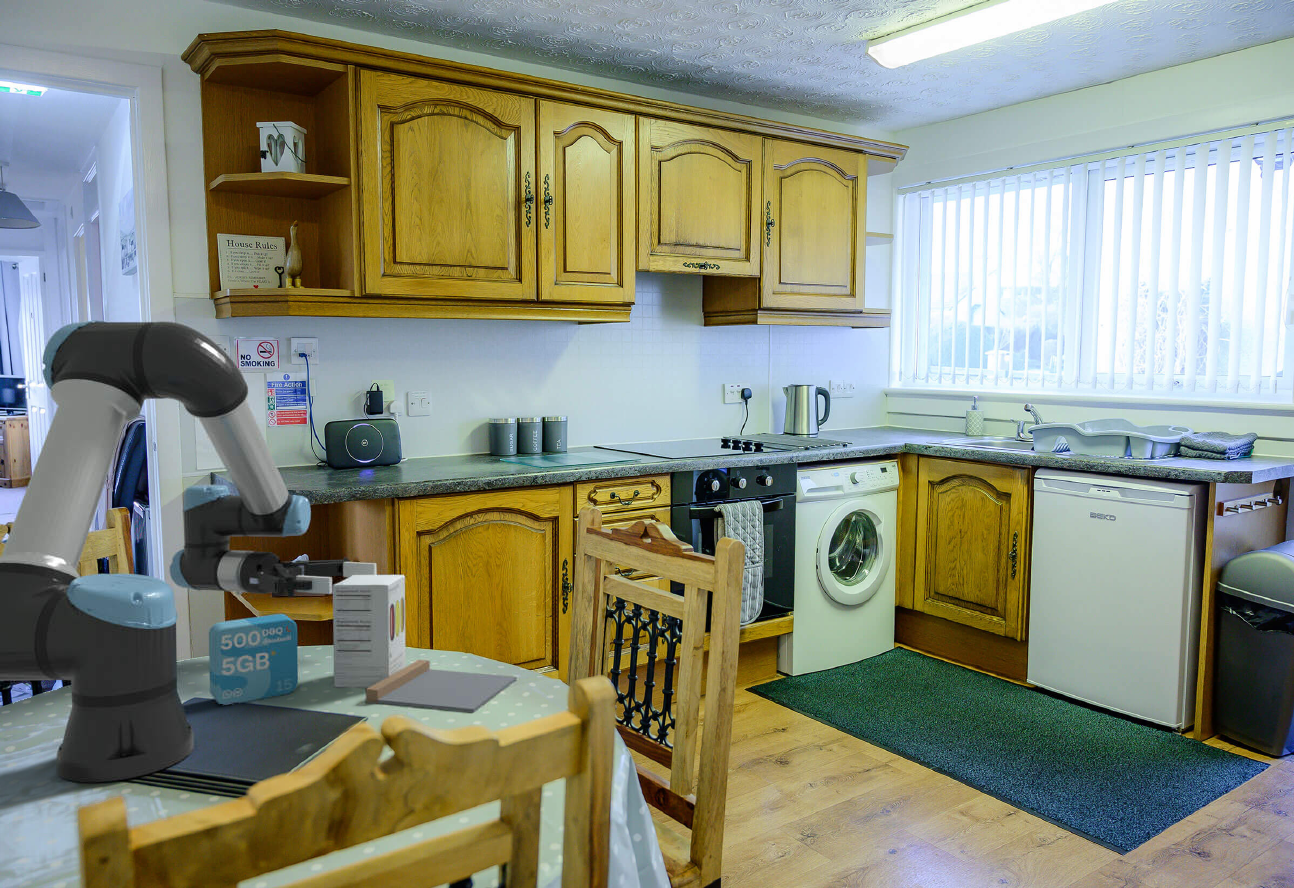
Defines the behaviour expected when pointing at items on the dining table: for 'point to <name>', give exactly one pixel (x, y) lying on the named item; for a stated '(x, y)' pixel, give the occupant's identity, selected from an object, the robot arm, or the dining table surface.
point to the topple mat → (437, 688)
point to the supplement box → (368, 629)
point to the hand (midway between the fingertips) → (354, 578)
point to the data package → (253, 658)
